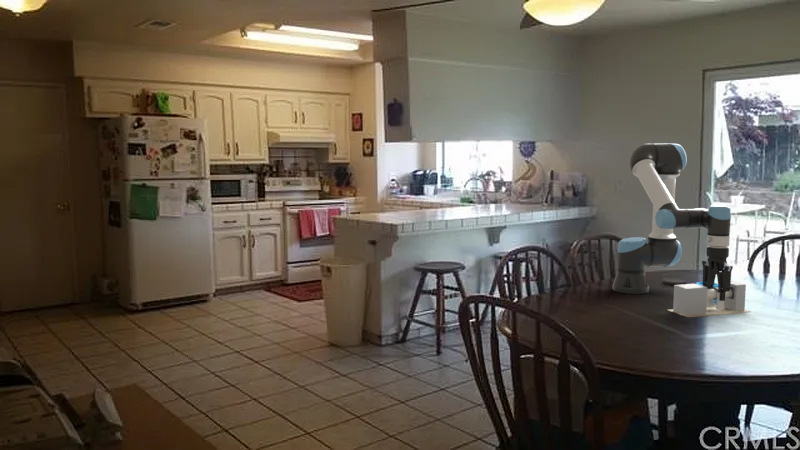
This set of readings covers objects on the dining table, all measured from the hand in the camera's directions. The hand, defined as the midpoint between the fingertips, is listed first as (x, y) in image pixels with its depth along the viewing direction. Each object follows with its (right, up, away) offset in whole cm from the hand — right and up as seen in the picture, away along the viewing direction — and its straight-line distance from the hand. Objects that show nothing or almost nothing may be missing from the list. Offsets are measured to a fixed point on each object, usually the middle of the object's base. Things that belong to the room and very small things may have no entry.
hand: (715, 307), depth 243 cm
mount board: (-3, -2, 0) cm, 4 cm away
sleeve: (-10, -2, -2) cm, 11 cm away
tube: (-3, +3, -1) cm, 4 cm away
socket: (+8, -1, +2) cm, 8 cm away
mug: (+5, -1, +17) cm, 18 cm away
